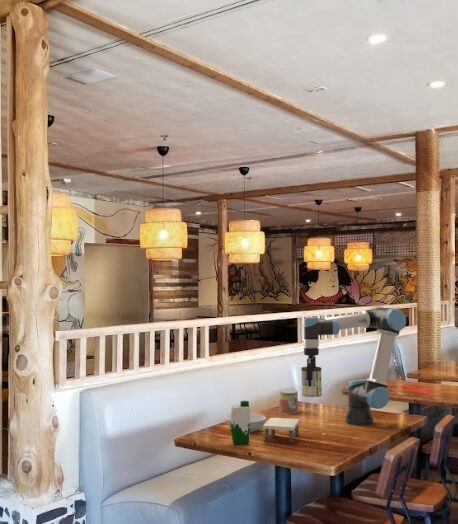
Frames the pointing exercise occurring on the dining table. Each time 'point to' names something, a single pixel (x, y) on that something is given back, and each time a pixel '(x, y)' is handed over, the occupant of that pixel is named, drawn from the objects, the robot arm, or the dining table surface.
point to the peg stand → (281, 427)
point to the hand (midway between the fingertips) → (311, 391)
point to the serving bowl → (251, 421)
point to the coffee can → (316, 382)
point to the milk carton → (240, 423)
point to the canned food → (288, 401)
